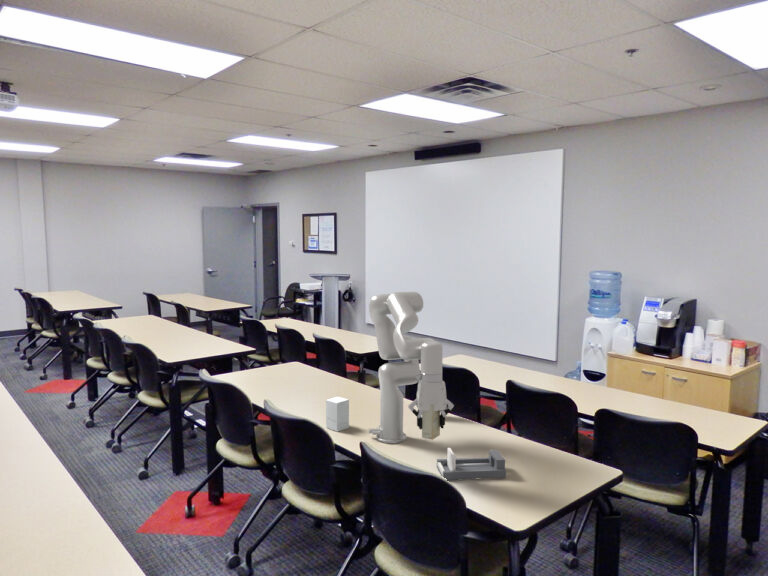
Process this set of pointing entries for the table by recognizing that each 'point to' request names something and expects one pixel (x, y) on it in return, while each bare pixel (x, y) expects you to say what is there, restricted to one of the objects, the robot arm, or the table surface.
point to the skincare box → (431, 424)
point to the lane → (475, 467)
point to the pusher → (452, 464)
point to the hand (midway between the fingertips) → (430, 427)
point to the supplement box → (337, 413)
